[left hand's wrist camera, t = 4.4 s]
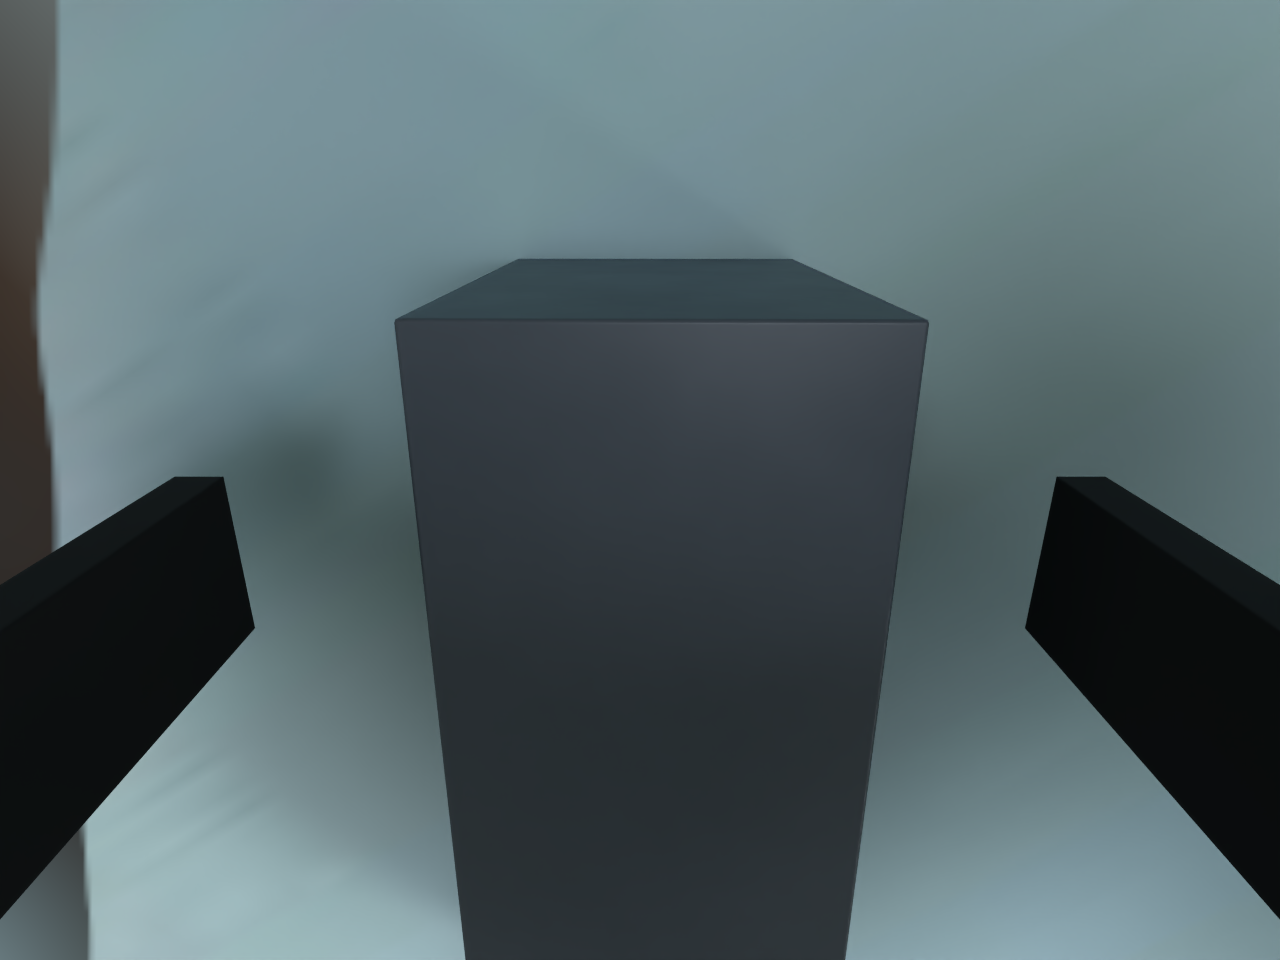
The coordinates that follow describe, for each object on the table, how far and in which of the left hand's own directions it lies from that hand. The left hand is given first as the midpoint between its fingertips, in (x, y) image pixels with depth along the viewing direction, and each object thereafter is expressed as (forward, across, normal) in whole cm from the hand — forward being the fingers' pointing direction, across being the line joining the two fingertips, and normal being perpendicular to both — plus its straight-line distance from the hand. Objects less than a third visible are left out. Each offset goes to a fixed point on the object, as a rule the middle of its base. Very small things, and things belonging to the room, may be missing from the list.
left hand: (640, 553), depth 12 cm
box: (+7, 0, -7) cm, 10 cm away
